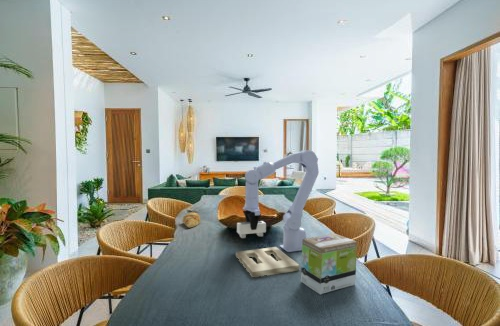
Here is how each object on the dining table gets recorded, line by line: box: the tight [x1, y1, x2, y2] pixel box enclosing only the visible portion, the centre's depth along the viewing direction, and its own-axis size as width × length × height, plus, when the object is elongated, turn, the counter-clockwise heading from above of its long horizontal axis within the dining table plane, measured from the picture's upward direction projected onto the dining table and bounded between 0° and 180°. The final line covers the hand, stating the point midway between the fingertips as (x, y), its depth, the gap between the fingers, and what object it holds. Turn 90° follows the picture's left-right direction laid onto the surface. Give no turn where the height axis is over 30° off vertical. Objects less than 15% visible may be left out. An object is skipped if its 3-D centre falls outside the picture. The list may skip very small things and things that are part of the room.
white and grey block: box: [236, 220, 267, 239], centre depth 123 cm, size 12×4×6 cm, turn 109°
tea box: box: [300, 233, 358, 296], centre depth 92 cm, size 15×10×15 cm
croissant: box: [181, 211, 201, 228], centre depth 165 cm, size 21×10×8 cm, turn 6°
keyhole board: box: [235, 246, 300, 278], centre depth 109 cm, size 18×20×2 cm
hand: (251, 228), depth 123 cm, fingers closed on white and grey block, 4 cm apart
